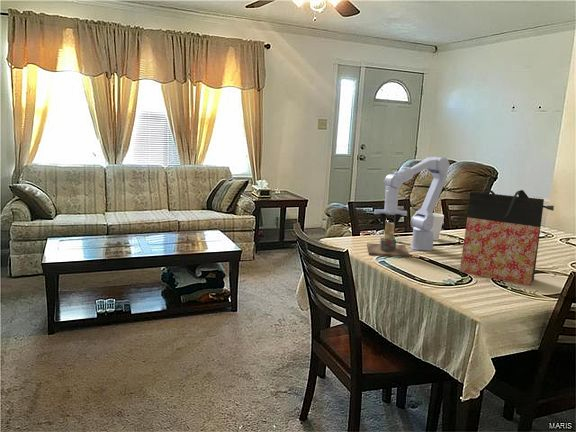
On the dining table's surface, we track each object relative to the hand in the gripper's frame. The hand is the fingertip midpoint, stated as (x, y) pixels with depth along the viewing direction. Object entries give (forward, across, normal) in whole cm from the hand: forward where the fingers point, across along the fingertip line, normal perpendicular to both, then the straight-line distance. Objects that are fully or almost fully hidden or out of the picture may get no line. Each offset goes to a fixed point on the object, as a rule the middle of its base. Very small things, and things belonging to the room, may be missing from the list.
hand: (389, 230), depth 213 cm
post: (+5, 0, 0) cm, 5 cm away
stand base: (+10, 0, 0) cm, 10 cm away
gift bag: (+10, +41, -29) cm, 51 cm away
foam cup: (+10, +26, +31) cm, 42 cm away
